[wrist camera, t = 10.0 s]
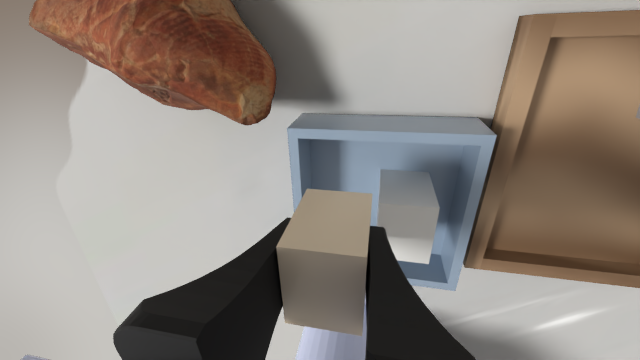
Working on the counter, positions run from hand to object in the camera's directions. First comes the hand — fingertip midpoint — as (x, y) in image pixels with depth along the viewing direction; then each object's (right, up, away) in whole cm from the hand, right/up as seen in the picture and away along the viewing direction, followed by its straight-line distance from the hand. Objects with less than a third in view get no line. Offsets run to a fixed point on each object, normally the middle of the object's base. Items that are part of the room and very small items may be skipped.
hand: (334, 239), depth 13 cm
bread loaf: (-9, +12, +6) cm, 16 cm away
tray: (+16, +4, +4) cm, 17 cm away
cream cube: (0, 0, +2) cm, 2 cm away
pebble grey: (+5, +2, +7) cm, 9 cm away
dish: (+4, +2, +8) cm, 9 cm away
